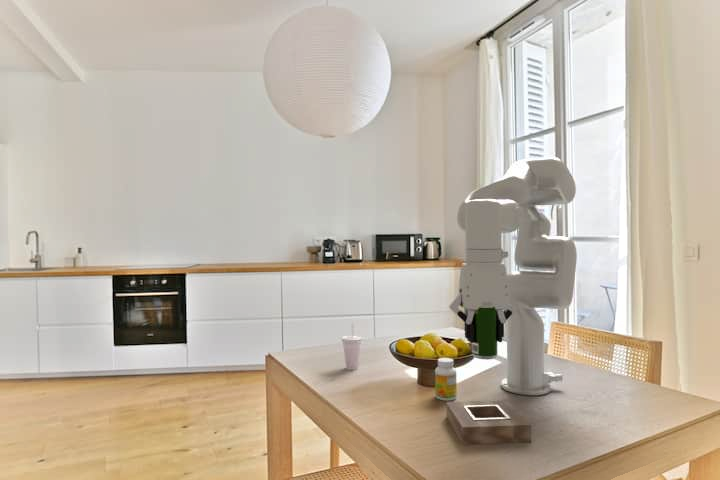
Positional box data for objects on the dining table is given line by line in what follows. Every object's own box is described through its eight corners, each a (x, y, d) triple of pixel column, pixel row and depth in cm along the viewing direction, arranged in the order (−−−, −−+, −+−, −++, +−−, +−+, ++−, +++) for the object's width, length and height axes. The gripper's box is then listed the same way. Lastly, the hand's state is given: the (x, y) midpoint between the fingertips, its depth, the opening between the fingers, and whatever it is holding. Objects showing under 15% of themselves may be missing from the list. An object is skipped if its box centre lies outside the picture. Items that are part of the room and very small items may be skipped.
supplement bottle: (431, 395, 124) (430, 358, 124) (448, 392, 126) (448, 356, 126) (442, 402, 119) (442, 363, 119) (460, 399, 121) (460, 361, 121)
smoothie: (366, 367, 150) (365, 323, 150) (355, 372, 145) (354, 326, 144) (349, 364, 154) (348, 321, 153) (337, 369, 148) (337, 324, 148)
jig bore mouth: (497, 405, 107) (497, 404, 107) (510, 419, 99) (510, 418, 99) (463, 406, 106) (463, 405, 106) (473, 420, 99) (473, 419, 99)
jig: (506, 415, 110) (506, 400, 110) (531, 442, 96) (531, 424, 96) (446, 417, 109) (446, 402, 109) (463, 444, 95) (462, 427, 95)
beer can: (485, 361, 99) (484, 303, 99) (466, 355, 104) (465, 300, 103) (502, 357, 102) (502, 301, 102) (483, 351, 106) (483, 298, 106)
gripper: (516, 255, 106) (516, 336, 107) (440, 256, 106) (441, 338, 106) (529, 257, 99) (530, 344, 99) (448, 259, 98) (449, 346, 99)
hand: (484, 340), depth 103 cm, fingers closed on beer can, 5 cm apart
